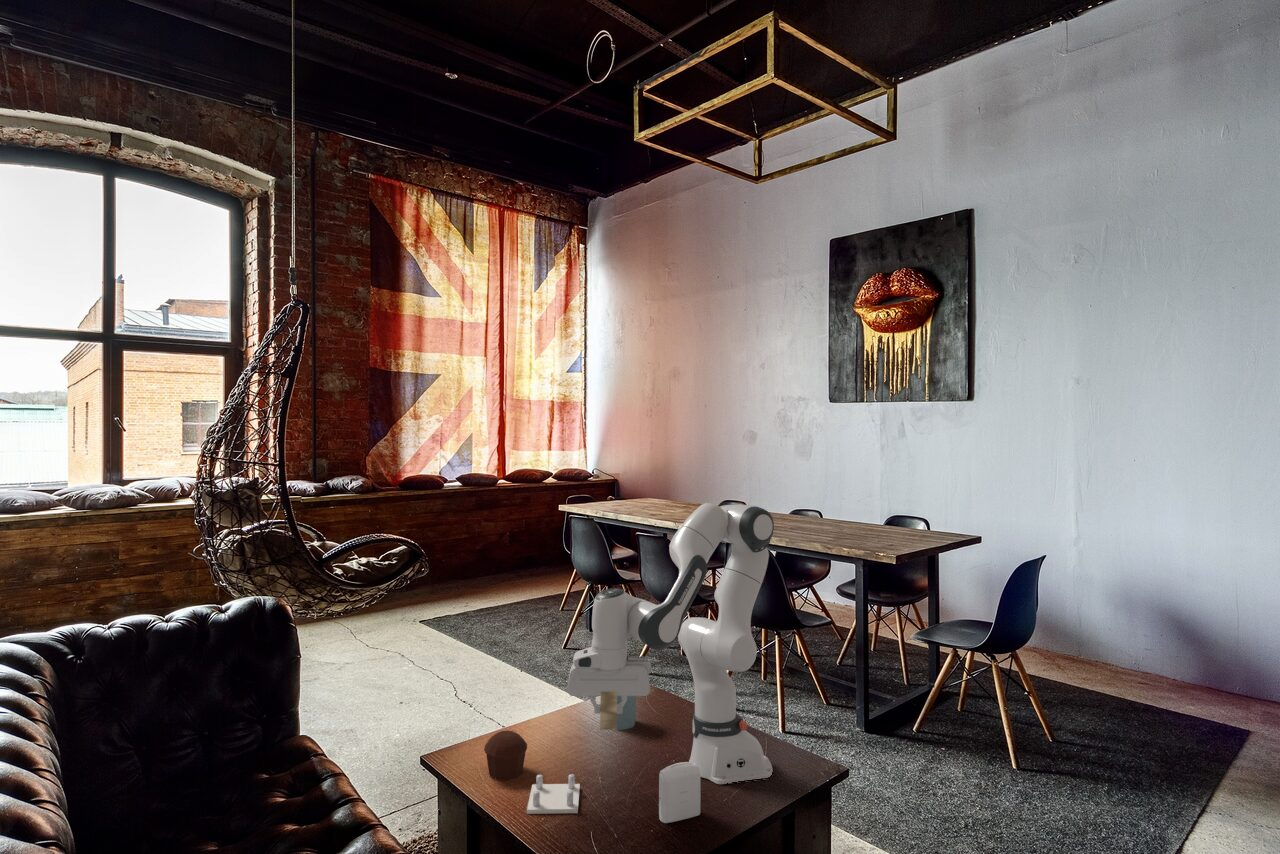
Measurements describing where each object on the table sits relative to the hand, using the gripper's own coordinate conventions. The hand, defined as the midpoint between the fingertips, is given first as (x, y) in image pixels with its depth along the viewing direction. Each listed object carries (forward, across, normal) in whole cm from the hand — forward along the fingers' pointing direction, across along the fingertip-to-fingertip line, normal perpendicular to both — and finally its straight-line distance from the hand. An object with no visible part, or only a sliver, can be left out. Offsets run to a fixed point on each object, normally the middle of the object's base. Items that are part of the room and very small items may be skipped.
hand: (608, 712), depth 173 cm
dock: (+21, +13, 0) cm, 25 cm away
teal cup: (+21, -4, -45) cm, 50 cm away
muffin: (+22, +27, -15) cm, 38 cm away
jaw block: (+3, 0, 0) cm, 3 cm away
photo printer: (+22, -17, +8) cm, 29 cm away
